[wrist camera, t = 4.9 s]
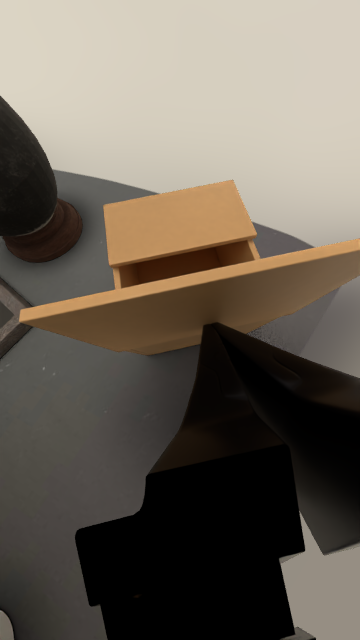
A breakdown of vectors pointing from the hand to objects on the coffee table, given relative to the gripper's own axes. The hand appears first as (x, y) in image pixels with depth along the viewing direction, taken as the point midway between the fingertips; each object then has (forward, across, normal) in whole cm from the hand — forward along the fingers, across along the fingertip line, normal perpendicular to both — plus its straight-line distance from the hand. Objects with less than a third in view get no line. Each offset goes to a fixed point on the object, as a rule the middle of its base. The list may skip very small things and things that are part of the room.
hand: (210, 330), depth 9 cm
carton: (+12, 0, +2) cm, 12 cm away
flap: (-1, 0, -2) cm, 2 cm away
